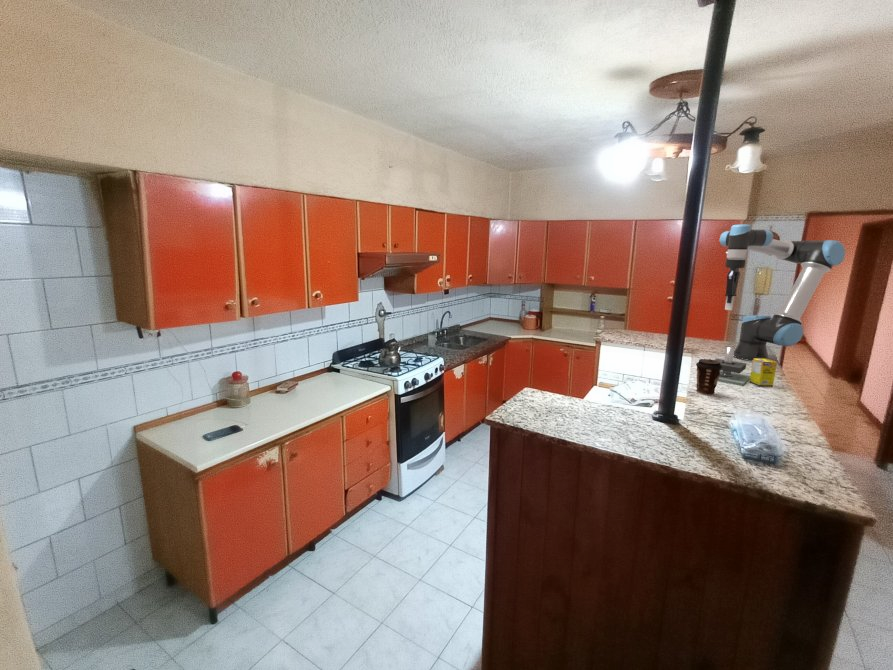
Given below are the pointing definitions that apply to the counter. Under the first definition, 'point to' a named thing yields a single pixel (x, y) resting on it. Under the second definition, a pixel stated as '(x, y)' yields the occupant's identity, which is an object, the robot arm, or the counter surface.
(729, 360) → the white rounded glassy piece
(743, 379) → the base board
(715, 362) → the coffee cup
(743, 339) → the robot arm
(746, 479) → the counter surface
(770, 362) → the supplement box
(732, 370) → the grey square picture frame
